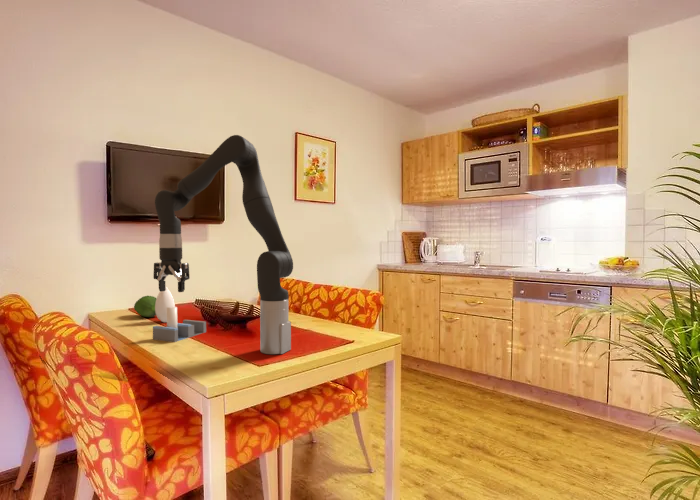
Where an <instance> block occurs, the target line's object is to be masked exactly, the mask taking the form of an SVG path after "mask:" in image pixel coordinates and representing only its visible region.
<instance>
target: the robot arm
mask: <svg viewBox="0 0 700 500" xmlns="http://www.w3.org/2000/svg"><path fill="white" fill-rule="evenodd" d="M230 163H233V164H235V166H237V168H238V171H239V174H240V177H241V179H242V197H241V198H242V204H243V207H244V211H245V215H246V217H247V219H248V221H249V223H250V225H251V226H252V227H253V228H254V230H255V231H256V232H257V233H258V234H259V235H260V237H261V239H263V241H264V243H265V245H266V247H267V248H266V249H267V250H268V251H264V252H262V253H260V254H259V257H258V259H257V261H256V278H257V279H256V280H257V290H258V291H257V292H258V293H259V299H260V300H259V301H260V302H259V303H260V304H259V306H260V309H259V310H260V311H259V313H260V314H259V315H260V316H259V318H260V319H259V322H260V323H259V325H260V327H259V332H260V335H259V336H260V337H259V338H260V339H259V341H260V345H259V350H260V353H261V354H265V355H284V354H286V353H287V352H289V351H291V350H292V322H291V321H289V291H288V289H285V288H284V287H282V285H281V279H284V278H287V277H289V276H290V275H291V274H292V272H293V270H294V261H293V258H292V255H291V253H290V249H289V248H288V246H287V243H286V241H285V239H284V236H283V234H282V231H281V228H280V226H279V223H278V219H277V217H276V213H275V210H274V207H273V204H272V200H271V197H270V194H269V192H268V190H267V186H266V183H265V180H264V178H263V175H262V172H261V166H260V162H259V156H258V153H257V148H255V146H254V144H253V143H251V142H250V141H249V140H248V139H246V138H245V137H243V136H242V135H239V134H234V135H230V136H228V137H227V138H226V139H225V140H223V142H222V143H221V144H220V145H219V146H218V147H217V148H216V149H215V150H214V151H213V152H212V153H211V154H210V156H209V157H207V159H205V160H204V161H203V162H202V163H201V164H200V165H199V166H198V167H197V168H196V169H194V170H192V172H190V173H189V174H188V175H186V176H185V177H183V178H182V179H180V181H178V183H177V189H175V190H174V191H172V190H167V189H163V190H162V189H161V190H160V191H158V192H157V194H156V195H155V199H154V207H155V210H156V215H157V219H158V222H159V239H158V240H159V241H158V245H159V246H158V247H159V251H158V252H159V254H158V255H159V256H158V258H159V260H160V261H161V262H154V263H153V279H154V280H157V281H158V290H159V292H160V291H165V290H166V288H165V286H166V278H167V277H168V276H169V275H170V276H174V277H175V278H176V279H177V292H178V293H184V291H185V288H186V287H185V285H186V283H185V282H186V281H187V280H190V265H189V263H188V262H183V263H182V259H183V238H182V222H181V219H180V218H178V217H177V215H176V213H175V212H179V211H180V210H183V208H185V207H186V206H187V205H188V204H189V203H190V202H191V201H192V199H193V198H194V197H195V196H197V195H198V194H200V193H201V192H202V191H204V190H205V189H206V188H208V187H209V185H210V184H211V183H212V181H213V180H214V179H215V177H216V175H217V174H218V172H219V171H220V170H221V169H223V168H224V167H226V166H227V165H228V164H230Z"/></svg>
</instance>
